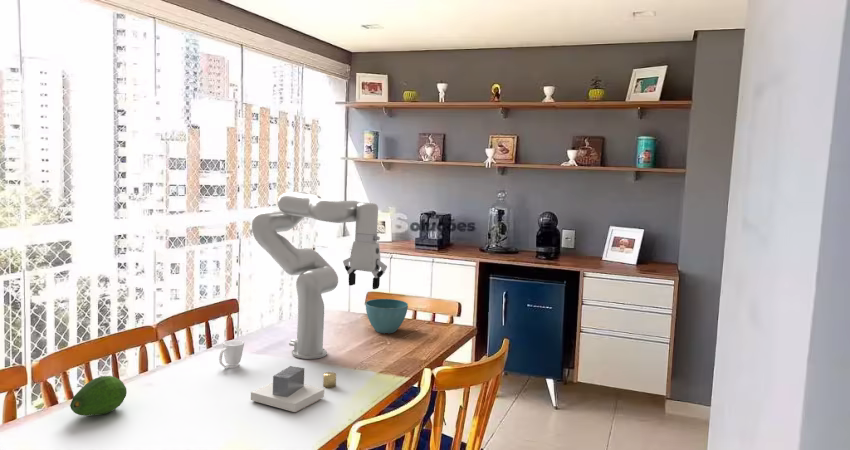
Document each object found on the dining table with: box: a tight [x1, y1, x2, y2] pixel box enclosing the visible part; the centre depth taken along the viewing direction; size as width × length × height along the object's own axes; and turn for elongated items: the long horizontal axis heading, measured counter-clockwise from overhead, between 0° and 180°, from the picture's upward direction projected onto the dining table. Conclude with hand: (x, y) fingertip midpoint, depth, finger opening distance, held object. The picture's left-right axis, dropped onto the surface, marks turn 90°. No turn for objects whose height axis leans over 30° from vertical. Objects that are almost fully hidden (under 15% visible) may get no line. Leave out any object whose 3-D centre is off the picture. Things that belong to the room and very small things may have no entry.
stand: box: [250, 382, 325, 413], centre depth 183 cm, size 16×14×3 cm
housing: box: [272, 365, 305, 397], centre depth 183 cm, size 10×5×6 cm, turn 163°
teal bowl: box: [365, 298, 409, 334], centre depth 267 cm, size 18×18×12 cm
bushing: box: [322, 371, 337, 389], centre depth 197 cm, size 4×4×4 cm
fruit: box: [69, 375, 127, 416], centre depth 166 cm, size 15×10×10 cm, turn 156°
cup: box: [218, 339, 245, 369], centre depth 210 cm, size 7×10×8 cm
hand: (363, 286), depth 216 cm, fingers open, 9 cm apart
